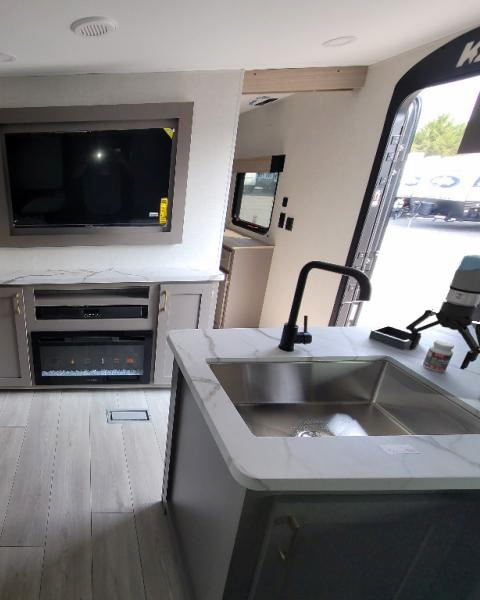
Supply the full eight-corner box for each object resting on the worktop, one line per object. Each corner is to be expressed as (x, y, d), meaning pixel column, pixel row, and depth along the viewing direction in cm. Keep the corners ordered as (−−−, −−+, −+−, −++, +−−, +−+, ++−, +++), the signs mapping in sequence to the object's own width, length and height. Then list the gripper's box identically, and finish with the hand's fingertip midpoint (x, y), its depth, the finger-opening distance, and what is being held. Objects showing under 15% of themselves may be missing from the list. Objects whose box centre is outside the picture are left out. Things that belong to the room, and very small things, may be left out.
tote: (418, 343, 131) (421, 335, 130) (402, 349, 127) (405, 341, 126) (384, 332, 141) (387, 325, 140) (368, 337, 137) (371, 330, 136)
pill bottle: (428, 370, 114) (438, 345, 110) (418, 362, 119) (428, 338, 115) (449, 373, 112) (460, 348, 108) (438, 364, 117) (449, 340, 114)
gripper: (406, 292, 116) (387, 344, 124) (513, 318, 95) (482, 379, 102) (418, 289, 119) (398, 340, 126) (525, 314, 97) (493, 374, 105)
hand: (436, 358), depth 114 cm, fingers open, 13 cm apart
